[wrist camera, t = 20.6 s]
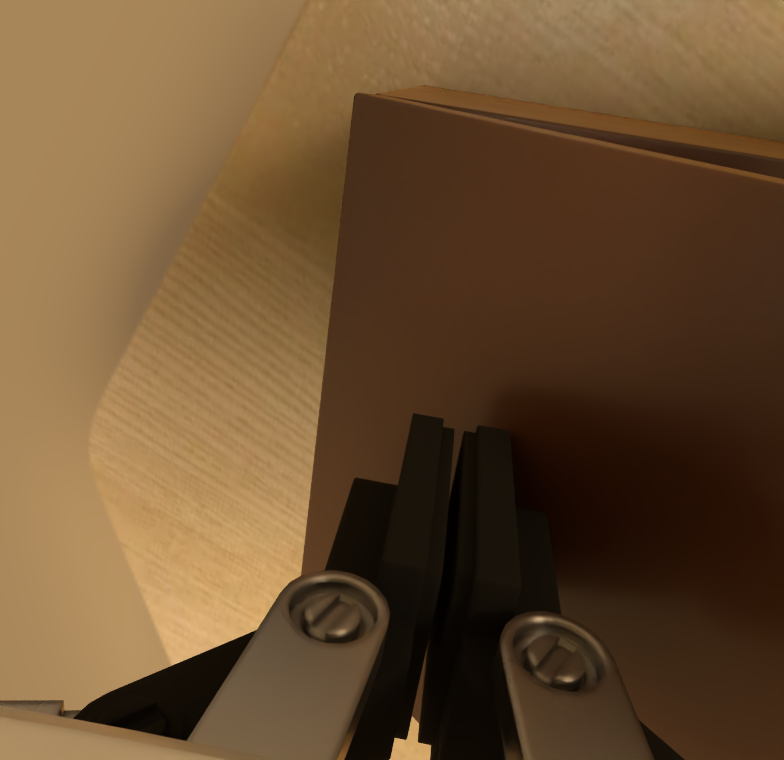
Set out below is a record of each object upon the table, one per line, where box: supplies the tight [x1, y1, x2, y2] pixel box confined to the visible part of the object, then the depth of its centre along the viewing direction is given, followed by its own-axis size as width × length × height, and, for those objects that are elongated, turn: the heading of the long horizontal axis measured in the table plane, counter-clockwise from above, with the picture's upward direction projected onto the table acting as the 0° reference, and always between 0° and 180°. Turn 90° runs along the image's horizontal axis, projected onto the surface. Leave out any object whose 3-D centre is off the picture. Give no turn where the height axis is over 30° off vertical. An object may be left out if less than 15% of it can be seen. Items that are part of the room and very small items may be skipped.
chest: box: [375, 86, 784, 179], centre depth 21 cm, size 14×12×12 cm
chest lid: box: [301, 93, 784, 760], centre depth 11 cm, size 15×12×1 cm
